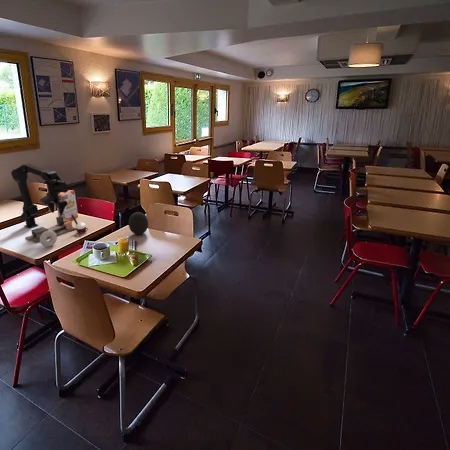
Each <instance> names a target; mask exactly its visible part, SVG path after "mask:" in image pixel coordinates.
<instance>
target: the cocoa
mask: <svg viewBox="0 0 450 450" xmlns="http://www.w3.org/2000/svg"><path fill="white" fill-rule="evenodd" d="M72 217H73V221H74V223H75V227H74V228H76V230H75V231H76V232H77V234H84V233H86V232H87V231H88V230H89V229H88V227H87V226H86V223H84V222H83V221H82V222H81V221H80V222H78V221H77V220H76V219H77V218H75V217H74V215H73V214H72Z"/></svg>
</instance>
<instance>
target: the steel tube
mask: <svg viewBox="0 0 450 450" xmlns="http://www.w3.org/2000/svg"><path fill="white" fill-rule="evenodd" d="M55 219H56V224H57V225H54V226H52V227H51V226H50V227H49V228H47V229H48V230H50V231H53V232H54V231H57V230H60V229H63V228H66V226H65V223H64V220H63V217H61V216H57V217H55Z"/></svg>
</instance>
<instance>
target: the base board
mask: <svg viewBox="0 0 450 450" xmlns="http://www.w3.org/2000/svg"><path fill="white" fill-rule="evenodd" d="M30 231H31V235H29V236H25V240H27V241H31V242H32V243H35V244H38V243H40V236H41V234H42V233H43V232H45V231H48V228H46V227H45V226H40V227H37V228H34V229H31V230H30ZM74 231H76V228H75V227H74V226H72V228H70V229H66V228H63V229H60V230H57V231H54V232H55V233H56V235H57V237H58V236H61V235H65V234H68V233H70V232H74ZM50 239H51V237H50V236H48V237H47V238H46V241H48V240H50Z"/></svg>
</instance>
